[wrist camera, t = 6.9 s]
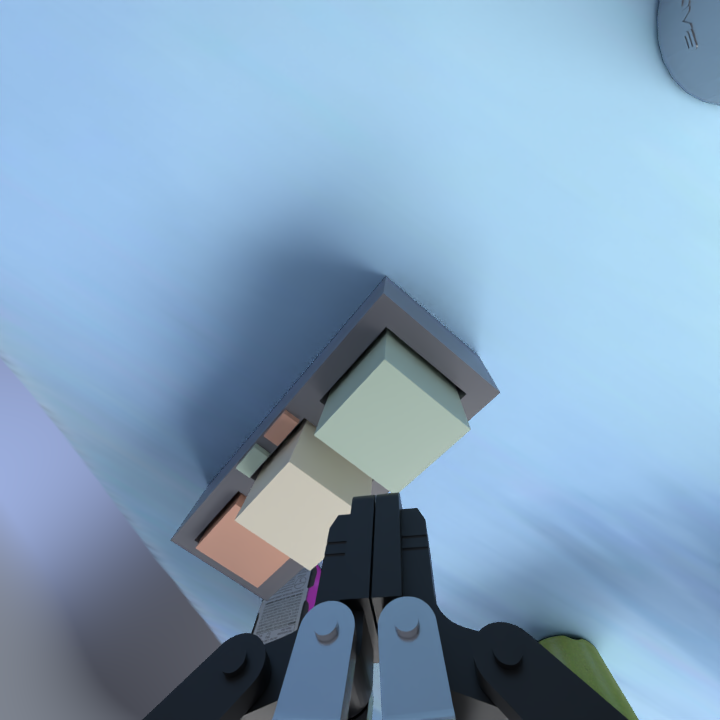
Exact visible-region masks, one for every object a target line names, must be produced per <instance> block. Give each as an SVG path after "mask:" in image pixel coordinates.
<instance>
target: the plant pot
mask: <svg viewBox="0 0 720 720" xmlns="http://www.w3.org/2000/svg"><path fill="white" fill-rule="evenodd" d="M539 643H540V644H541V645H542V646H543V647H544V648H546V649H547V650H548V651H549V652H550V653H551V654H553V655H554V656H555V657H556V658H557V659H558V660H560V661H561V662H562V663H563V664H564V665H565V666H567V667H568V668H569V669H570V670H571V671H572V672H574V673H575V674H576V675H577V676H578V677H579V678H581V679H582V680H583V681H584V682H585V683H586V684H588V685H589V686H590V687H591V688H592V689H593V690H595V691H596V692H597V693H598V694H599V695H600V696H602V697H603V698H604V699H605V700H606V701H607V702H609V703H610V704H611V705H612V706H613V707H614V708H616V709H617V710H618V711H619V712H620V713H621V714H623V715H624V716H625V717H626V718H627V719H629V720H638V718H637V716H636V715H635V713H634V711H633V709H632V708H631V706H630V704H629V703H628V701H627V699H626V698H625V696H624V694H623V693H622V691H621V689H620V688H619V686H618V684H617V683H616V681H615V679H614V678H613V676H612V674H611V673H610V671H609V669H608V668H607V666H606V664H605V663H604V661H603V659H602V658H601V656H600V654H599V652H598V651H597V649H596V648H595V647H594V646H593V645H592V644H591V643H589V642H588V641H586V640H584V639H580V640H574V639H571V638H569V637H566V636H554V637H549V638H546V639H544V640H541V641H539Z"/></svg>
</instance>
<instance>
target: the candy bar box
mask: <svg viewBox="0 0 720 720" xmlns="http://www.w3.org/2000/svg"><path fill="white" fill-rule="evenodd" d="M320 575H321V569H320V567H319V566H318V564H317V565H316V566H315V567H314V568H313V569H312V570H310V571H309V570H308V569H306V568H305V567H304V568H303V569H302V570H301V571H300V572H299V573H297V574H296V575H295V576H294V577H293V578H292V579H291V580H290V581H288V582H287V583H286V584H285V585H284V586H283V587H282V588H281V589H279V590H278V591H277V592H276V593H275V594H274V595H273V596H272V597H271V598H269V599H268V600H267V601H265V600H264V599H263V601H262V604H261V606H260V609H259V612H258V615H257V618H256V621H255V624H254V627H253V630H252V633H251V634H254V635H256V636H258V637H259V638H260V639H261V640H262V641H263V644H266V643H269V642H271V641H274V640H276V639H279V638H281V637H284V636H286V635H288V634H291V633H292V632H294V631H295V630H297V629H298V628H299V627H300V624H301V622H302V620H303V618H304V617H305V615H306V614H307V613H308V612H309V611H310V610H311V609H312V608H313V607H314V605H315V600H316V595H317V590H318V585H319V580H320Z"/></svg>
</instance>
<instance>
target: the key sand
mask: <svg viewBox="0 0 720 720" xmlns="http://www.w3.org/2000/svg"><path fill="white" fill-rule="evenodd" d="M316 428H317V427H316V426H315V425H313V424H312V423H311V422H309V421H308V420H307V419H304V420H303V421H302V422H301V423H300V424H299V425H298V426H297V427H296V429H295V430H294V431H293V432H292V433H291V434H290V435H289V436H288V437H287V439H286V440H285V441H284V442H283V443H282V444H281V445H280V446H279V447H278V449H277V450H276V451H275V452H274V453H273V454H272V455H271V456H270V457H269V459H268V460H267V461H266V462H265V463H264V465H263V467H262V469H261V471H260V473H259V475H258V477H257V479H256V480H255V482H254V484H253V486H252V488H251V490H250V492H249V494H248V496H247V497H246V499H245V501H244V503H243V505H242V507H241V509H240V511H239V513H238V515H237V516H236V518H235V520H234V521H236V522H237V523H239V524H240V525H242V526H243V527H245V528H246V529H248V530H249V531H251V532H252V533H254V534H255V535H257V536H258V537H260V538H261V539H263V540H264V541H266V542H267V543H269V544H270V545H272V546H273V547H275V548H276V549H278V550H279V551H281V552H282V553H284V554H285V555H287V556H288V557H290V558H291V559H293V560H294V561H296V562H297V563H299V564H300V565H302V566H303V567H305V568H306V569H308V570H309V571H310V570H312V569H313V568H314V567H315V566H316V565H317V564H318V563H320V562H321V561H322V560H323V559H324V557H325V555H324V554H325V549H326V545H327V538H328V533H329V528H330V527H331V525H332V524H333V522H334V521H335V519H336V518H337V516H338V515H345V514H350V513H351V505H352V499H353V497H357V496H367V495H371V490H372V478H371V477H370V476H368V475H367V474H365V473H364V472H363V471H361V470H360V469H359V468H357V467H356V466H355V465H353V464H352V463H351V462H349V461H348V460H347V459H345V458H344V457H343V456H341V455H340V454H339V453H337V452H336V451H334V450H333V449H332V448H330V447H329V446H328V445H326V444H325V443H324V442H322V441H321V440H320V439H318V438H317V437H316V436H314V433H315V431H316Z"/></svg>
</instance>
